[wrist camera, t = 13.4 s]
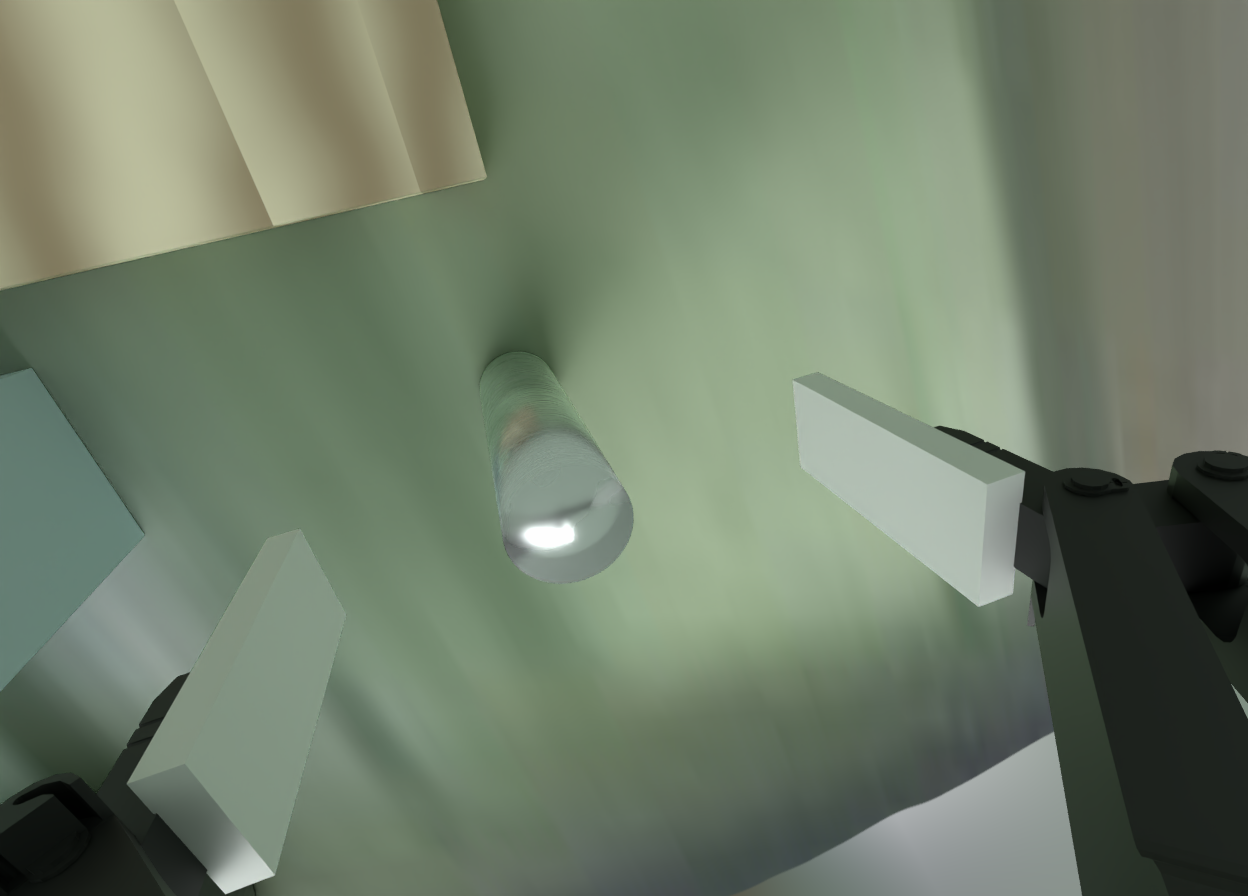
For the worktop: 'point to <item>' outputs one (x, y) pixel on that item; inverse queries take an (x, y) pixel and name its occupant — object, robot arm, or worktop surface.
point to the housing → (49, 521)
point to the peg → (549, 475)
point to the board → (214, 122)
